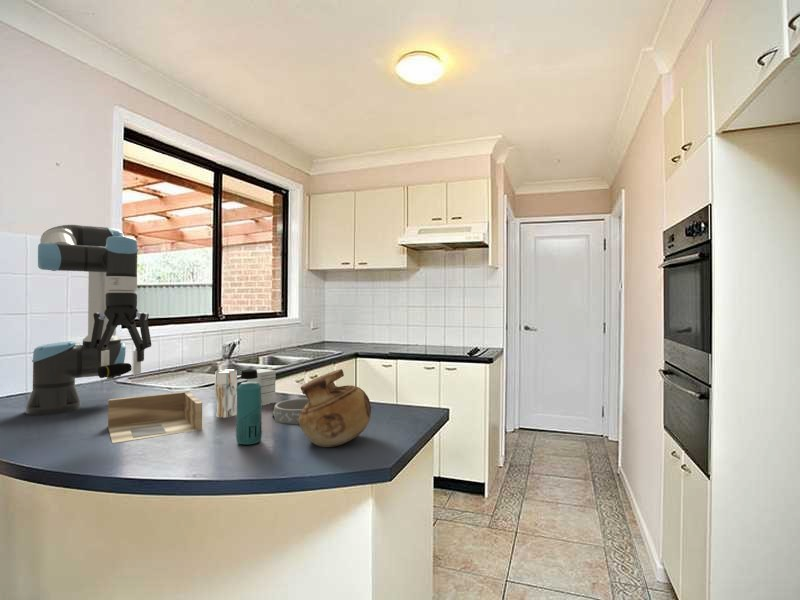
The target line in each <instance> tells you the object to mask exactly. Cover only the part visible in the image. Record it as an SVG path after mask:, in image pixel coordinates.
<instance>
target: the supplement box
mask: <svg viewBox="0 0 800 600" xmlns="http://www.w3.org/2000/svg"><path fill="white" fill-rule="evenodd" d="M256 370H257V378H254V379H246V382H258V383H259V384H260V385H261V386H262V388H261V401H262V402H261V407H263V406H267V404H268V405H271V404H270V403H272V404H275V403H276V373H277V372H276V370H275V369H274V370H273V369H267V368H266V369H265V368H259V369H256ZM274 402H275V403H274ZM262 405H263V406H262Z"/></svg>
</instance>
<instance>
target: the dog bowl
mask: <svg viewBox="0 0 800 600" xmlns="http://www.w3.org/2000/svg"><path fill="white" fill-rule="evenodd" d="M308 402H309V400H308V398H307V397H306V398H293V399H291V398H290V399H287V400H282V401H279V402H277V403H276V404H274V408H273V412H272V417H274V421H275V422H276V423H280V424H290V425H291V424H297V425H298V424H299V417H300V414H301V412H302V410H303V408H304V407H305V406H306V404H307V403H308ZM299 425H300V424H299Z"/></svg>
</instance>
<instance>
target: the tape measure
mask: <svg viewBox="0 0 800 600" xmlns="http://www.w3.org/2000/svg"><path fill="white" fill-rule="evenodd" d="M132 367H133V366H132V365H131V363H129V362H128V363H127V362H124V363H117V364H112V365H106V366H100V367H98V370H97V371H98V376H97V377H99V378H100V379H105V378H106V379H107V380H111V379H114V378H116V377H118V378H119V377H121V376H123V375H125V374H127V373H129V372H131V371H132V370H133V369H132Z"/></svg>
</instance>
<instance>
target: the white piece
mask: <svg viewBox="0 0 800 600" xmlns="http://www.w3.org/2000/svg"><path fill="white" fill-rule="evenodd" d="M237 372H238V370H237V369H219V370H216V371H214V373H215V374H214V392H215V393H214V394H215V400H216V405H217V406H216V408H217V409H216V413H215V417H216V418H221V417H223V418H230V417H234V416H237V412H236V408H235V406H236V405H235V404H236V403H235V402H236V399H237V387H238V373H237Z"/></svg>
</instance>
